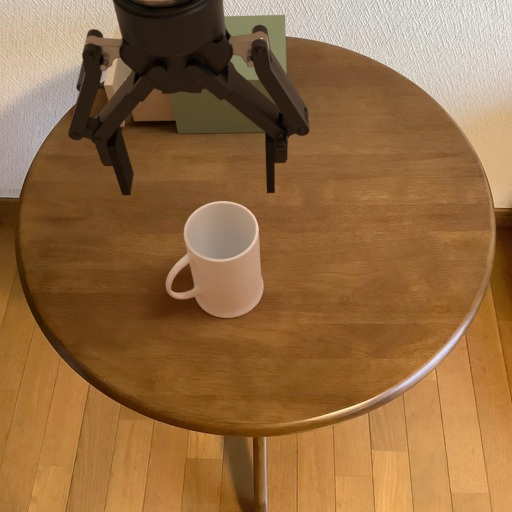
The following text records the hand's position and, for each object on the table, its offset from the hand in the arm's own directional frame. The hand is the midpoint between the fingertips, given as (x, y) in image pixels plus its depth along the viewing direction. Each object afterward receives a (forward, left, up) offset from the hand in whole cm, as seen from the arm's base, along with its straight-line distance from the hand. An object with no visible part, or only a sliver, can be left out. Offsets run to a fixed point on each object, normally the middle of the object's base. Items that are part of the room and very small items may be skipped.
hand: (199, 183), depth 60 cm
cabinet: (+1, +34, -21) cm, 40 cm away
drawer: (-11, +34, -20) cm, 41 cm away
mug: (0, 0, -21) cm, 21 cm away
